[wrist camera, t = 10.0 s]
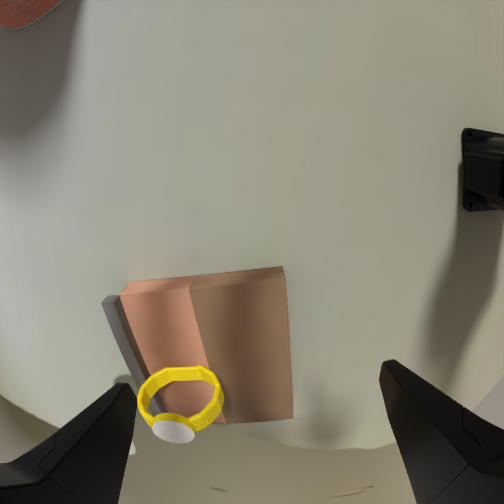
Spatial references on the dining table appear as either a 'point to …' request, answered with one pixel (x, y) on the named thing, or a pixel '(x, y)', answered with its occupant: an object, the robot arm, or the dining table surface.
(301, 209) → the dining table surface
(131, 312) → the copper slab
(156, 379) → the watch
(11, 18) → the canned food
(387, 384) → the robot arm
